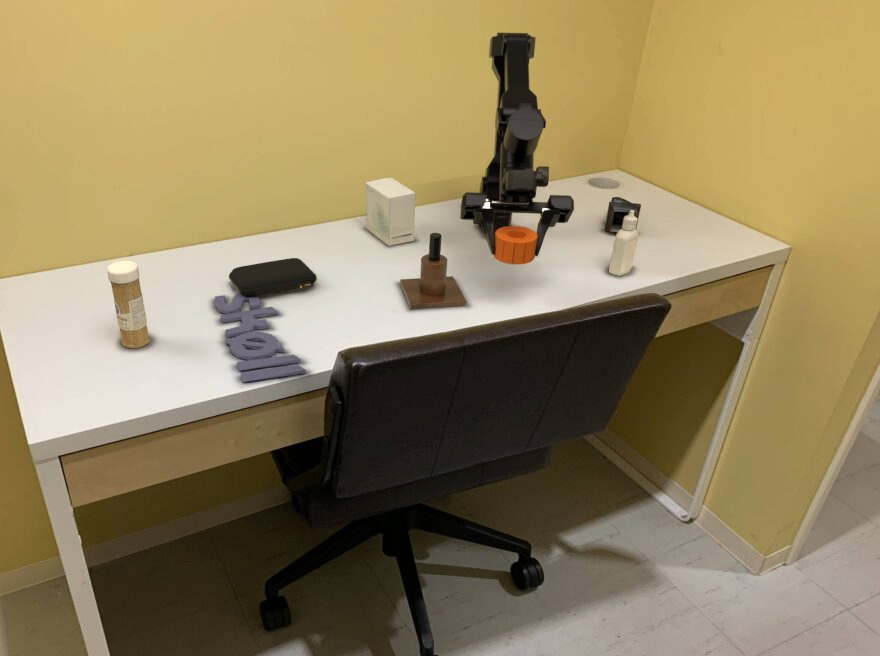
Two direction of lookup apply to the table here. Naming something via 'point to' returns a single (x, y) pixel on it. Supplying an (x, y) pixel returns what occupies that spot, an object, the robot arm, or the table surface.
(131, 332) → the sprinkles bottle
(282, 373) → the signage
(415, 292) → the stand
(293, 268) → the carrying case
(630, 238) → the eye dropper bottle
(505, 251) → the ring
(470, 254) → the table surface
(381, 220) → the cosmetics box
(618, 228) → the dark grey hollow box
